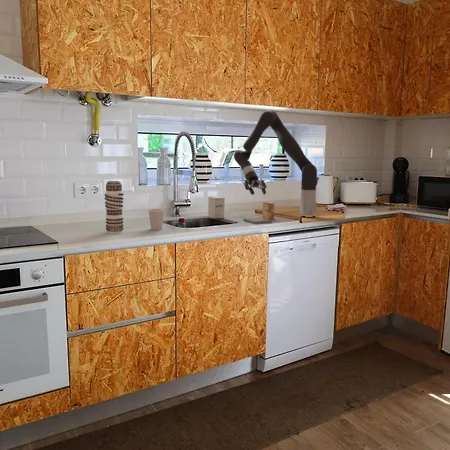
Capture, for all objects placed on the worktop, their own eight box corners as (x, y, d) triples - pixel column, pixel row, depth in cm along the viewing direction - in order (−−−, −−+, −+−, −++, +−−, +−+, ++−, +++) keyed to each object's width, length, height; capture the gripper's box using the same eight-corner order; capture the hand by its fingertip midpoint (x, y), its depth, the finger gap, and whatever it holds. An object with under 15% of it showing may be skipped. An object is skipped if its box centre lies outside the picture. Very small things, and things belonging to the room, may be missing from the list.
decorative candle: (119, 230, 235) (118, 180, 232) (127, 232, 228) (126, 181, 224) (102, 231, 230) (101, 180, 226) (109, 234, 223) (108, 182, 219)
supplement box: (214, 218, 280) (214, 197, 278) (207, 217, 286) (208, 196, 284) (224, 217, 285) (224, 197, 283) (217, 216, 291) (217, 196, 289)
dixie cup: (145, 228, 240) (144, 209, 238) (157, 227, 246) (157, 208, 245) (155, 231, 234) (155, 211, 233) (168, 229, 241) (168, 210, 239)
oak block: (269, 218, 287) (270, 202, 285) (274, 219, 282) (274, 202, 281) (262, 218, 284) (263, 202, 283) (267, 219, 280) (267, 203, 279)
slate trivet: (260, 219, 280) (261, 217, 280) (272, 222, 269) (272, 220, 269) (243, 220, 274) (243, 218, 274) (254, 223, 264) (254, 221, 263)
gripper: (242, 170, 293) (251, 190, 285) (261, 170, 300) (271, 189, 291) (238, 178, 298) (247, 198, 290) (257, 178, 305) (266, 197, 297)
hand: (259, 193), depth 291 cm, fingers open, 8 cm apart
